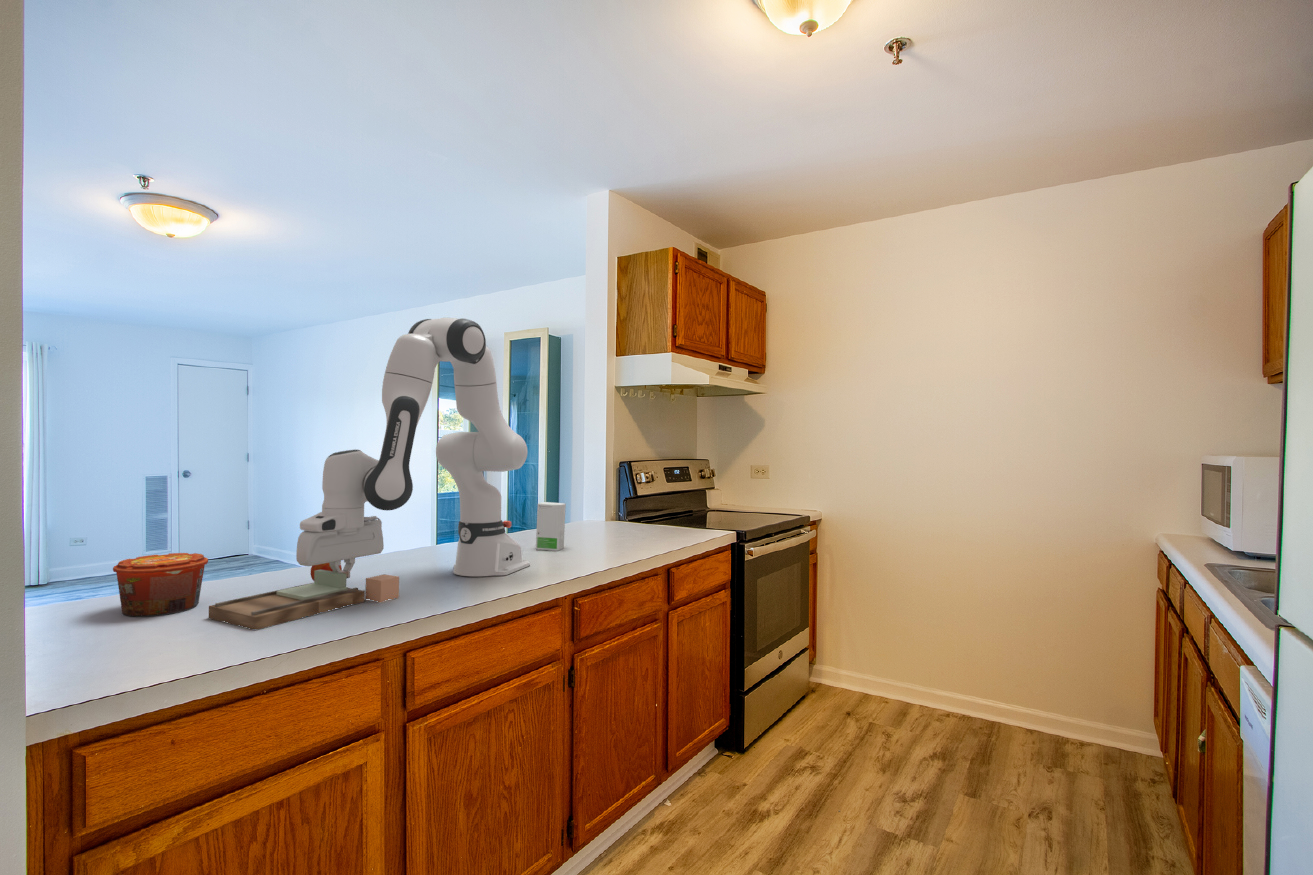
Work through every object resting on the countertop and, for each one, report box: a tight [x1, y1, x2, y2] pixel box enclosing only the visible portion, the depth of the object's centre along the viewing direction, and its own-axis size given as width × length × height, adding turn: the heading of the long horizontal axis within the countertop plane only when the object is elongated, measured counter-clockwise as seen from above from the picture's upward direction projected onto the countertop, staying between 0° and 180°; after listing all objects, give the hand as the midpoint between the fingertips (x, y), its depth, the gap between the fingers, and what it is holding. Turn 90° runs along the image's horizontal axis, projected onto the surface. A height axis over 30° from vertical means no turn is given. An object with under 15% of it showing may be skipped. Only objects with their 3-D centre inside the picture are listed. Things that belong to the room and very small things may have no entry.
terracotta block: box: [365, 574, 400, 603], centre depth 144 cm, size 5×5×5 cm
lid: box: [276, 570, 349, 600], centre depth 139 cm, size 10×10×4 cm
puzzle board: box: [208, 582, 365, 630], centre depth 134 cm, size 24×16×3 cm, turn 153°
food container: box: [112, 552, 209, 618], centre depth 133 cm, size 16×16×11 cm
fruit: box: [310, 563, 343, 582], centre depth 156 cm, size 7×7×8 cm
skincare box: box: [535, 501, 567, 552], centre depth 211 cm, size 8×7×16 cm
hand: (342, 578), depth 145 cm, fingers closed
